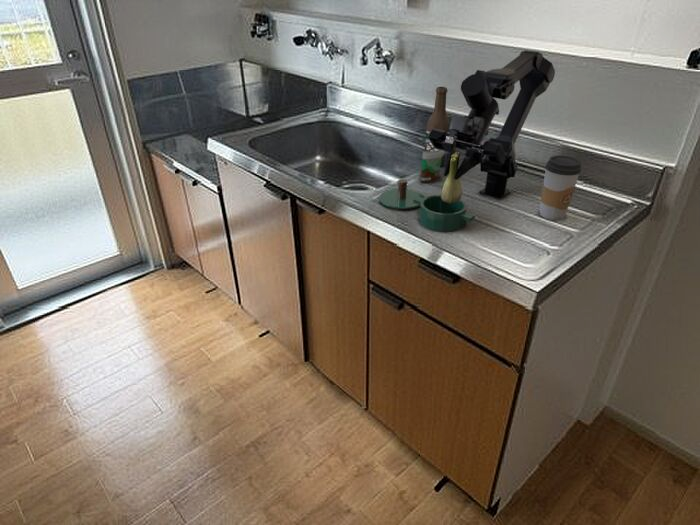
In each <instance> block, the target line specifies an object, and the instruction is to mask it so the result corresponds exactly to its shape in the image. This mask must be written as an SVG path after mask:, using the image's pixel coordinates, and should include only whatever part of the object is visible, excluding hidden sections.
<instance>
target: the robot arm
mask: <svg viewBox="0 0 700 525" xmlns="http://www.w3.org/2000/svg"><path fill="white" fill-rule="evenodd" d="M555 75H556V69H555V67H554V65H553V63H552V62H551V61H549V59H547V58H545V57H544V55H543V53H542V52H540V51H537V50H528V49H525V50H523V51H520V53H519V55H518V56H516V57H515V58H513V59H512V60H511V61H510V62H508V63H507V64H506V65H505V66H503V67H501V68H494V69H493V68H492V69H490V70H487V71H485V70H480V69H476V71H475V73H474V74H471V75H469V76H467V77H466V78H464V80H462V81H461V84H460V91H461V93H462V96H463V97H464V100H465V102H466V104H467V106H468V108H470V111H469V113H468V115H464V116H459V115H452V117H451V120H450V122H449V123H450V126H449V130H452V131H453V135H454V136H455V137H453V136H450V134H449V135H448V133H447V131H444V130H439V129H435V128H434V129H432V130H431V131H430V132H429V134H428V136H427V137H428V139H429V140H430V142H431V143H432V145H433V146H434V147H435V148H436V149H440V150H444V151H446V159H445V165H444V166H443V167H444V168H443V177H446V178H447V177H448V175H449V172H450V160H451V156H452V154H455V152H458V150H459V149H461V150H465V154H464V157H463V160H462V161H461V163H460V164H459V166H458V170H457V172H456V175H455V177H454V178H455V179H456V180H457V179H459V180H460V178H461V177H463V176H464V175H465V174H467V173H468V172H469V171H470V170H473V168H475V167H476V166H478V165H480V172H482V173H486V180H485V186H484V188H483V189H481V190H479V194H481V195H484V196H488V197H491V198H493V199H498V200H500V199H503V198H504V197H505V196H507V195H508V194H510V192H511V190H509V189H507V185H508V179H510V178H515V177H516V173H517V171H518V163H517V162H516V159H515V158H516V149H515V144H516V142H517V139H518V137H519V135H520V133H521V131H522V129H523V127H524V124H525V123H526V120H527V118H528V116H529V114H530V112H531V109H532V107H533V105H534V103H535V101H536V99H537V98H538V97H539V96H541V95H542V94H544V93H545V92H546V91H547V90H548V88H549V86H550V84H551V83H552V82H553V81H554V79H555ZM517 82H519V87H520V89H519V92H518V94H517V96H516V98H515V100H514V102H513V104H512V107H511V108H510V111H509V113H508V115H507V117H506V119H505V121H504V124H503V126H502V127H501V129H500V132H499V134H498V136H496V137H495V138H494V137H491V138H489V140H486V141H484V142H483V144H482V141H483V140H484V138H485V136H488V135H489V133H490V131H489V128H490V126H491V124H492V122H493V120H494V119H495V116H498V115H499V114H500V106H499V103H498V101H497V99H500V100H506V99H507V100H508V98H509V97H510V96H511V95H512V94H513V92H514V91H515V86H516V85H515V84H516V83H517Z"/></svg>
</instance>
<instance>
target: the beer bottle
mask: <svg viewBox="0 0 700 525" xmlns="http://www.w3.org/2000/svg"><path fill="white" fill-rule="evenodd" d="M435 93H436V94H435V100H434V107H433V111H432V114H431V116H429V118H428V119H427V120H428V121H427V123H426V129H425V130H426V131H425V140H426V139H427V140H429V139H428V137H427V136H428V134H429V132H430V131H431V130H432V129H434V128H435V129H439V130H444V131H447V133H448V135H449V136H450V133H451V132H450V130H449V126H450V123H451V122H450V120H449V117H448V115H447V93H448V88H447V87H446V86H438V87H436V88H435ZM425 143H426V141H425ZM444 152H445V154H444V155H443V156H442V159H441V165H440V168H441V167H445V159H446V151H444Z"/></svg>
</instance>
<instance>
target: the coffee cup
mask: <svg viewBox="0 0 700 525" xmlns="http://www.w3.org/2000/svg"><path fill="white" fill-rule="evenodd" d="M581 164H582V162H581V160H580V159H578V158H577V157H574V156H570V155H560V154H559V155H552V156H550V157H549V159H548V160H547V162H546V164H545V173H544V179H543V184H542V189H541V196H540V205H539V213H540V216H541V217H543V218H545V219H547V220H552V221H559V220H562V219H564V217H566V214H567V212H568V209H569V207H570V204H571V201H572V197H573V195H574V192H575V189H576V185H577V181H578V179H579V176H580V174H581V172H582V165H581Z"/></svg>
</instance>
